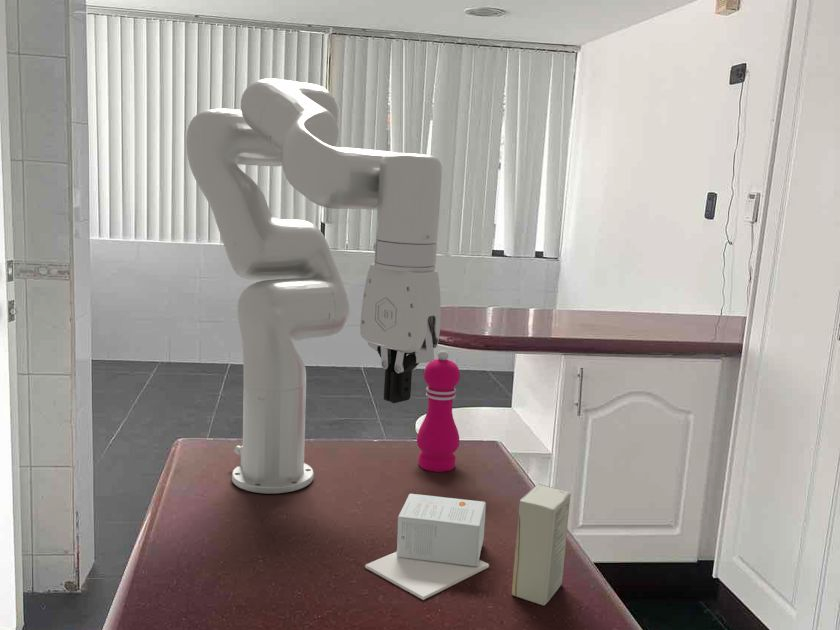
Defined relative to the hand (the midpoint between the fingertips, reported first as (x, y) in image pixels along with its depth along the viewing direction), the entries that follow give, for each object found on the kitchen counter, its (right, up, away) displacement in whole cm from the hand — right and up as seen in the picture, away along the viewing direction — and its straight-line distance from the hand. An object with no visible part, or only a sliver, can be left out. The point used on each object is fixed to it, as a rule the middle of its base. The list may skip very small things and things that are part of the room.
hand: (396, 399), depth 100 cm
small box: (0, -17, +3) cm, 17 cm away
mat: (+4, -21, -1) cm, 21 cm away
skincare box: (+17, -23, -5) cm, 29 cm away
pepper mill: (+6, -15, +34) cm, 38 cm away
